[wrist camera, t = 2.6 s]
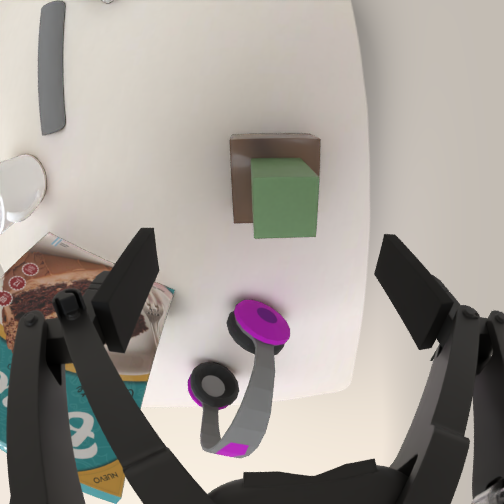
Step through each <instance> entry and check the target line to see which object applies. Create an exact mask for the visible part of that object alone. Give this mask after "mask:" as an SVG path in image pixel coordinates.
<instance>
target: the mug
mask: <svg viewBox="0 0 504 504" xmlns="http://www.w3.org/2000/svg"><path fill="white" fill-rule="evenodd" d="M46 182H47V181H46V174H45V171H44V168H43V166H42V165H41V163H40V162H39V161H38V160H37V158H35V157H33V156H32V155H28V154H24V155H20V156H17V157H14V158H11V159H8V160H5V161H2V162H0V235H1V234H2V233H3V232H4V231H5V230H7V229H8V228H9V227H10V226H11V225H12V224H14V223H15V222H21V221H23V220H25V219H26V218H28V217H29V216H30V215H31V214H32V213H33V212H34V210H35V209H36V208H37V206H38V205H39V203H40V202H41V201H42V199H43V197H44V195H45V191H46Z"/></svg>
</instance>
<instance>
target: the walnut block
mask: <svg viewBox="0 0 504 504" xmlns="http://www.w3.org/2000/svg"><path fill="white" fill-rule="evenodd" d="M252 158H301V159H302V160H303V161H304V162H305V163H306V164H307V165H308V166H309V167H310V168H311V169H312V170H313V171H314V172H315V173H316V174H317V175H318V177H319V172H320V139H319V138H317V137H315V136H313V135H311V134H290V133H272V134H235V135H232V136H231V138H230V160H231V180H232V199H233V217H234V223H253V211H252V185H251V159H252Z"/></svg>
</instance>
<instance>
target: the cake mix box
mask: <svg viewBox="0 0 504 504" xmlns="http://www.w3.org/2000/svg"><path fill="white" fill-rule="evenodd" d="M114 265H115V264H113V263H111V262H109V261H107V260H105V259H102V258H100V257H98V256H96V255H94V254H92V253H90V252H88V251H86V250H84V249H81V248H79V247H77V246H75V245H73V244H71V243H69V242H67V241H65V240H63V239H61V238H59V237H57V236H55V235H53V234H51V233H48V234H47V235H45V236H44V237H43V238H42V239H41V240H40V241H39V242H37V243H36V244H35V245H34V246H33V247H32V248H31V249H30V250H29V251H28V252H26V253H25V254H24V255H23V256H22V257H21V258H20V259H19V260H18V261H17V262H16V263H15V264H14V265H13V266H12V267H11V268H10V269H9V270H8V271H7V272H6V273H5V274H4V275H3V276H2V277H1V278H0V449H1V450H3V451H4V452H6V453H7V442H6V423H7V400H8V387H9V378H10V369H11V362H12V355H13V349H14V343H15V337H16V332H17V327H18V323H19V320H20V318H21V317H22V316H23V315H24V314H25V313H27V312H30V311H33V310H38V311H41V312H42V313H43V315H44V317H45V319H51V318H58V317H57V314H56V312H55V309H54V307H53V304H52V299H53V297H54V296H55V295H56V294H57V293H58V292H60V291H62V290H64V289H68V288H76V289H78V290H80V292H81V294H82V296H83V294H84V293H85V291H86V290H87V289H88V287H89V286H90V284H92V281H93V280H94V278H95V277H96V276H97V275H98V274H100V273H101V272H103V271H111V269H112V268H113V266H114ZM174 291H175V290H173V289H171V288H168V287H166V286H163V285H161V284H159V283H156V282H154V284H153V286H152V288H151V290H150V293H149V295H148V297H147V300H146V302H145V304H144V307H143V309H142V312H141V314H140V316H139V319H138V321H137V324H136V326H135V329H134V331H133V334H132V336H131V339H130V341H129V344H128V346H127V349H126V352H125V353H117V352H110V351H109V350H108V347H107V345H106V342H105V344H104V347H105V349H106V351H107V353H108V355H109V356H110V358H111V360H112V362H113V364H114V366H115V368H116V369H117V371H118V373H119V375H120V377H121V378H122V380H123V382H124V384H125V385H126V387H127V389H128V390H129V392H130V394H131V395H132V397H133V399H134V400H135V402H136V403H137V405H138V407H139V408H140V409H141V405H142V401H143V397H144V394H145V390H146V386H147V382H148V378H149V375H150V371H151V368H152V364H153V360H154V357H155V353H156V350H157V346H158V343H159V340H160V336H161V333H162V330H163V326H164V323H165V320H166V317H167V313H168V310H169V307H170V304H171V301H172V298H173V295H174ZM65 376H66V393H67V405H68V415H69V424H70V432H71V439H72V445H73V451H74V456H75V462H76V467H77V472H78V476H79V481H80V485H81V489H82V492H84V493H87V494H90V495H92V496H95V497H97V498H100V499H103V500H106V501H109V502H112V503H115V504H117V502H118V501H119V500H120V499H121V497H122V492H123V487H124V481H125V475H124V473H123V468H122V466H121V464H120V462H119V460H118V459H117V457H116V455H115V453H114V452H113V450H112V448H111V446H110V445H109V443H108V441H107V439H106V437H105V435H104V433H103V431H102V429H101V427H100V425H99V423H98V421H97V419H96V417H95V415H94V413H93V411H92V409H91V406H90V404H89V402H88V400H87V397H86V395H85V393H84V390H83V388H82V386H81V383H80V381H79V378H78V376H77V373H76V370H75V368H74V365H73V363H70V364H65Z"/></svg>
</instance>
